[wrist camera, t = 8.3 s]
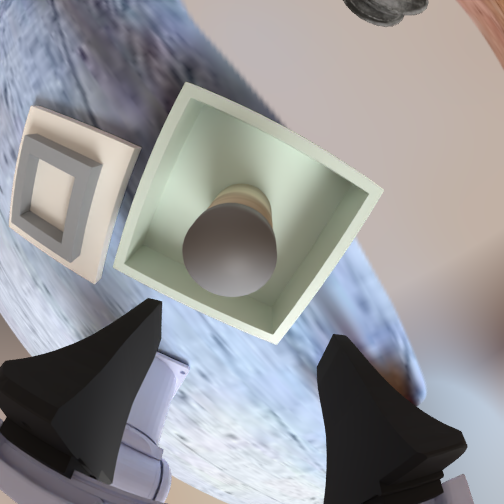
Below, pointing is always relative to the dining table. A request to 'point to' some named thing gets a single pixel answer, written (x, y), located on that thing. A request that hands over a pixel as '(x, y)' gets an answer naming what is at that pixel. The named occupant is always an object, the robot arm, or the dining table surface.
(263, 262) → the strut
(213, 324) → the dining table surface
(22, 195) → the square socket plate
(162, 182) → the bin
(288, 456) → the dining table surface
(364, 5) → the salt shaker
